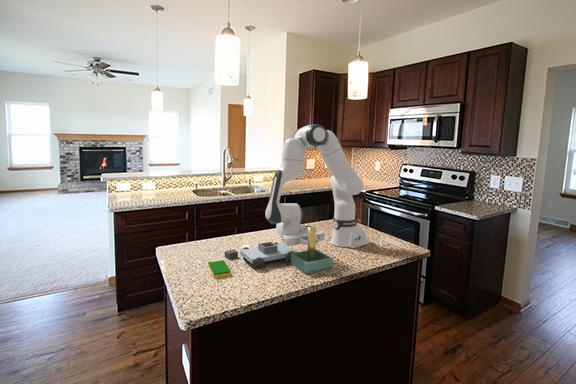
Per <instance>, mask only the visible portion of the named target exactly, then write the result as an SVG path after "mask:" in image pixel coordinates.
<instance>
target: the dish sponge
mask: <svg viewBox="0 0 576 384" xmlns="http://www.w3.org/2000/svg"><path fill="white" fill-rule="evenodd" d="M207 267H208V268H209V271H210V273H211V275H212V277H213V279H218V278H224V277H231V276H232V273H231V272H232V271H231V269H230V267H229V266H228V264H227V263H226V261H225V260H223V259H221V260H213V261H209V262H207Z"/></svg>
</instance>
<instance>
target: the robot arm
mask: <svg viewBox="0 0 576 384" xmlns="http://www.w3.org/2000/svg"><path fill="white" fill-rule="evenodd" d="M292 135H293V136H292V137H289V138H287V139H286V140H285V142H284V144H283V149H282V156H281V157H282V159H281V165H280V167H279V168H278V170H276V171H275V173H274V175H273V180H272V185H271V189H270V192H269V193H270V194H269V198H268V201H267V205H266V208H265V212H264V213H265V214H264V215H265V219H266V220H267V221H268V222H269V223H270V224H271V225H276V226H275V228H276V231H277V234H279V235H280V236H279V237H278V238H279V239H280V240H281V241H282V244H284V245H285V246H287V247H290V246H297V245H305V246H308V245H309V241H308V227H311V226H312V227H314V226H313V225H302V224H301V223H302V221H303V216H304V215H303V213H304V211H303V210H302V208H301V206H300V204H299V203H297V202H296V203H294V202H293V203H291V202H288V203H285V202H284V203H280V199H281V196H282V195H281V194H282V189H283V186H284V185H285V184H286V183H288V182H290V181H292V180H295V179H297V178H298V177H300V176H301V175H302V174H303V172H304V169H305V153H306V151H307V149H310V148H312V149H313V147H314V148H315V147H316V148H317V149H318V150H319V152H320V156H321V157H322V159H323V161H324V162H323V163H325V166H326V168H327V170H328V171H329V172H330V173H331V174H332V175H331V176H330V180H329V183H330V186H331V188H332V195H333V202H334V215H333V222H332V223H333V224H332V225H333V229H332V230H333V231H332V236H331V239H330V244H332V246H336V247H342V248H350V249H351V248H352V249H356V248H359V247H362V246H365V245H369V244H371V240H370V239H368V238H367V233H366V231H365V230H364V229H363V228H362V227H360V226H359V223H361V222H362V220H361V219H360V218H356V204H355V203H356V202H355V201H354V198H353V196H355V195H359V194H360V193H361V192H362V191H363V189H364V182H363V181H364V180H363V179H362V178H361V177H359V175H358V174H357V173H356V171H355V170H354V168H353V166H352V164H351V163H350V162H349V160H348V159H347V157H346V156H347V155H346V154H345V152H344V150H343V148H342V146H341V144H340V141H339V140H338V137H337V136H336V134H335V133H334V132H333V131H331V130H330V129H329V130H328V129H325V127H324V126H322V125H321V124H318V123H315V124H308V125H305V126H302V127H300V128H298V129H296V130H295V131H294V133H293V134H292ZM325 237H326V236H325V232H324V231H322V230H320V229H318V228H316V244H319V243H320V241H324V240H325Z"/></svg>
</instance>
